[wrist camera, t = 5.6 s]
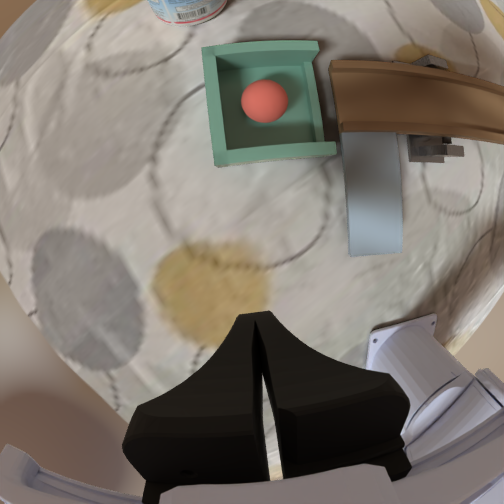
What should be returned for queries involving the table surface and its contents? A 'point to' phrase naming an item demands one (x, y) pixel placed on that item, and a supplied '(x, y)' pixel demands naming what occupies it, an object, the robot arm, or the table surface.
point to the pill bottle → (186, 11)
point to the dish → (256, 133)
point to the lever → (399, 122)
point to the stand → (426, 145)
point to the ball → (264, 101)
